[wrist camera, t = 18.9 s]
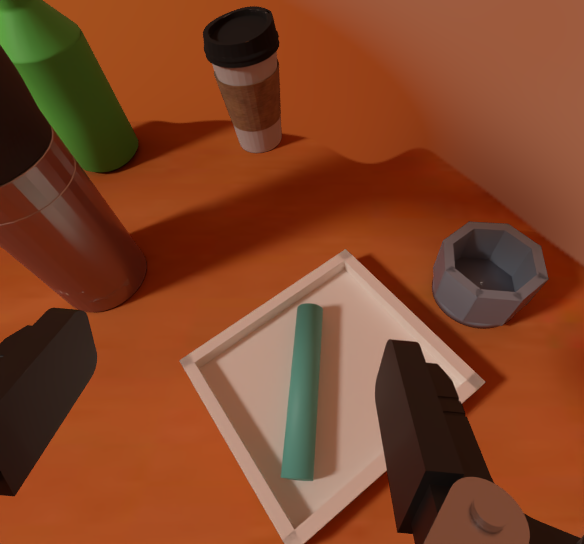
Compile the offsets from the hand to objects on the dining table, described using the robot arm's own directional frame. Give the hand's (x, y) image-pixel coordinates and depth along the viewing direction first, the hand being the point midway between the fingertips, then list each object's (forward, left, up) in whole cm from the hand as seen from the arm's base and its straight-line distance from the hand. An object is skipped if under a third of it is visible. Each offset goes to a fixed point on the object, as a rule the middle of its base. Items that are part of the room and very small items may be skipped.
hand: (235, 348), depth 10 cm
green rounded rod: (-10, +8, -22) cm, 26 cm away
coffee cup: (-36, +20, -25) cm, 48 cm away
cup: (-2, +23, -24) cm, 33 cm away
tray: (-4, +6, -24) cm, 25 cm away
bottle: (-48, +2, -25) cm, 54 cm away
